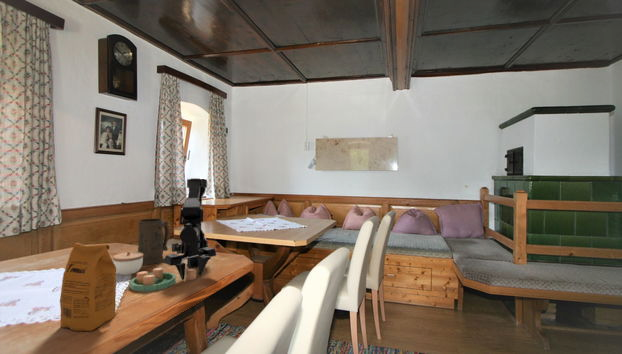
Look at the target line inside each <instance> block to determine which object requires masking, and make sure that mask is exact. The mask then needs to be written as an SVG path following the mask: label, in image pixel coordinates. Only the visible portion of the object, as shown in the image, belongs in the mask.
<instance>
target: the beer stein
mask: <svg viewBox="0 0 622 354" xmlns="http://www.w3.org/2000/svg"><path fill="white" fill-rule="evenodd" d="M163 228H164V232H163ZM137 237H138V239H137V240H138V242H137V245H138V247H137V252H141V253H143V264H142V265H153V264H154V265H155V264H158V263H161V262H164V255H163V254H164V251H165V252H168V250H169V249H168V246H167V245H168V241H169V239H170V227H169V221H167V220H164V221H163V219H162V218H144V219H140V220H138V236H137Z"/></svg>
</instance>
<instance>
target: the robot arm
mask: <svg viewBox="0 0 622 354" xmlns="http://www.w3.org/2000/svg"><path fill="white" fill-rule="evenodd" d="M186 188H187V189H188V195H187V200H186V201H184V202H183V204H182V208H181V209H180V213H179V214H180V215H179V225H182V226H183V228H182V229H181V230H180V233H179V239H180V241H181V243H180V244H179V243H178V242H174V243H172V244H171V252H172V253H171V254H166V255H165V256H164V257H163V263H164V264H167V265H168V266H175V268H176V270H177V272H178V274H179V276H180V279H181V280H182V281H184V280H185V278H186V277H185V276H186V266H189V267H191V268H197V275H198V276H199V277H200V276H201V275H202V273H203V272H204V269H205V268H206V265H207V264H208V261H209V260H211V259H212V257H216V256H217V250H216V249H215V248H213V247H211V246H210V247H209V245H208V243H209V242H208V240H207V238H206V235H205V233H204V231H203V229H202V223H203V222H204V214H205V213H204V212H205V211H204V209H203V197H204V195H205V194H206V190H207V189H208V180H207V179H205V177H189V178H187V179H186ZM185 260H187V261H186V263H184V261H185Z"/></svg>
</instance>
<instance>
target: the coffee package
mask: <svg viewBox="0 0 622 354" xmlns="http://www.w3.org/2000/svg"><path fill="white" fill-rule="evenodd" d="M110 249H111V248H110V245H108V244H98V245H97V244H96V245H85V244H82V243H80V242H77V241H76V242H74V245H73V246H72V250H71V252H70V254H69V257H68V260H67V262H66V266H65V269H64V272H63V275H62V280H61V281H62V282H61V289H60V298H59V305H60V326H59V327H60V328H70V329H71V330H73V331H75V332H85V331H86V332H87V331H88V332H92V331H94V330H96V329H97V328H98V327H100V326H101V325H104V323H106V322H108V321H110V320H112V319H114V317H115V316H116V315H117V313H116V305H117V304H116V302H117V301H116V296H117V291H116V289H117V272H116V267H115V264H114V263H113V258H112V257H111V255H110V254H109V250H110Z"/></svg>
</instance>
